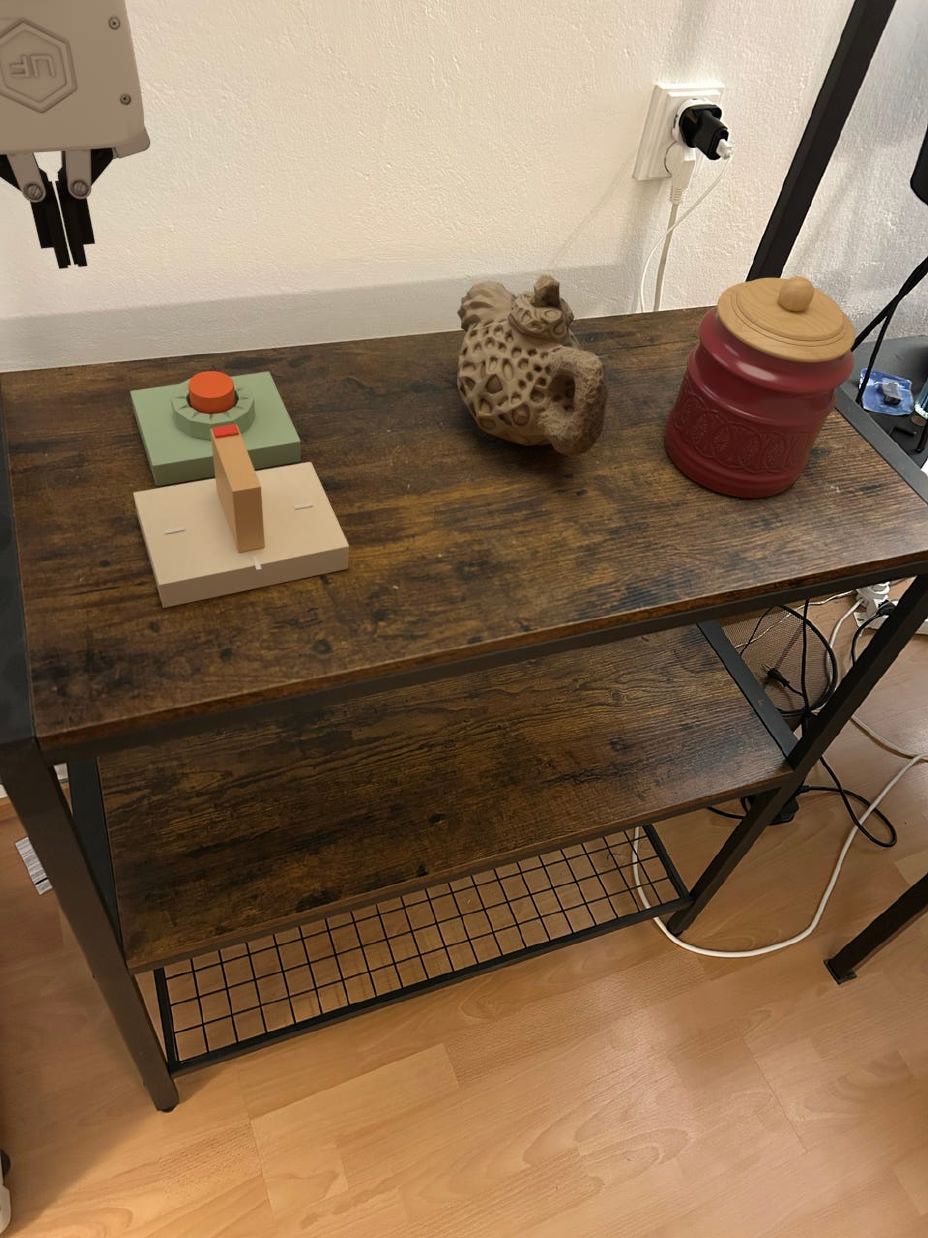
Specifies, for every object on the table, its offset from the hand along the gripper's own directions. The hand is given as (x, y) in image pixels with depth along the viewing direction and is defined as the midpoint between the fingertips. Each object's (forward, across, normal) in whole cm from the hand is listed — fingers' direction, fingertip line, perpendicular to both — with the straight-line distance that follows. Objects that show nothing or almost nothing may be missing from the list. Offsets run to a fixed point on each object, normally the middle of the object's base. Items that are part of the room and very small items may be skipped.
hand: (69, 255), depth 57 cm
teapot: (+23, +35, +4) cm, 42 cm away
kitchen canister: (+23, +53, -4) cm, 58 cm away
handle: (+21, +8, -3) cm, 22 cm away
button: (+20, +9, +10) cm, 24 cm away
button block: (+23, +9, +10) cm, 27 cm away
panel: (+23, +8, -3) cm, 25 cm away
